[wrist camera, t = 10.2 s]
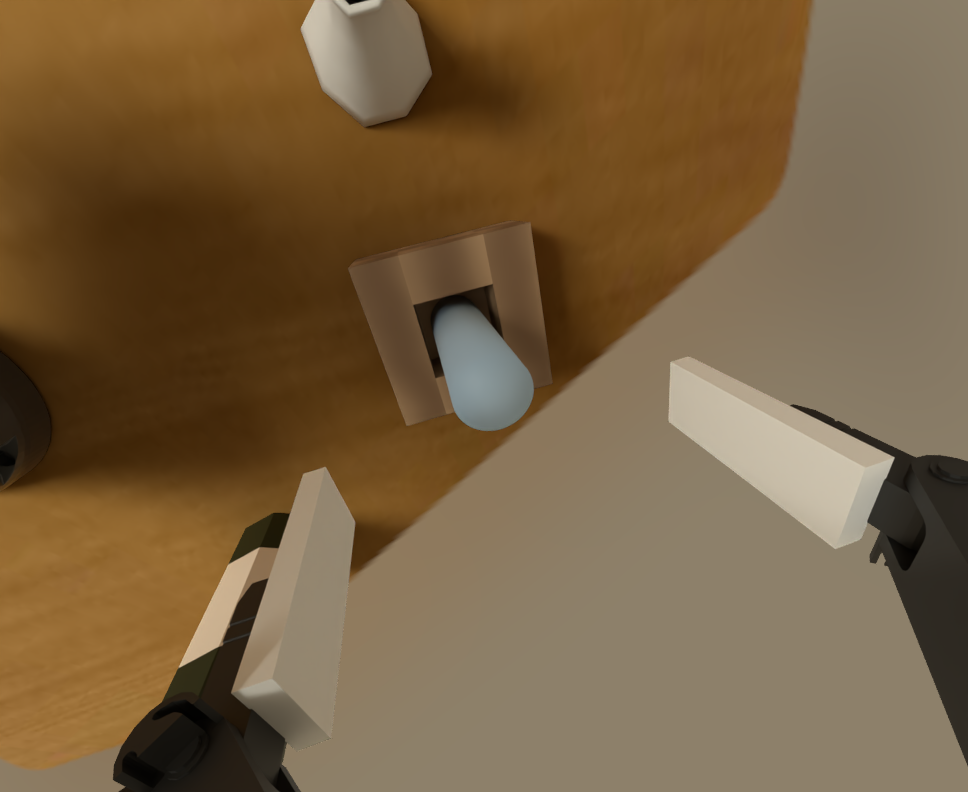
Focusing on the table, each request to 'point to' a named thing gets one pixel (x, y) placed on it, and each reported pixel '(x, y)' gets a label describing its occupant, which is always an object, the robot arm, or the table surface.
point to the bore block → (441, 273)
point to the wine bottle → (229, 602)
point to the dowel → (479, 367)
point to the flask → (368, 56)
